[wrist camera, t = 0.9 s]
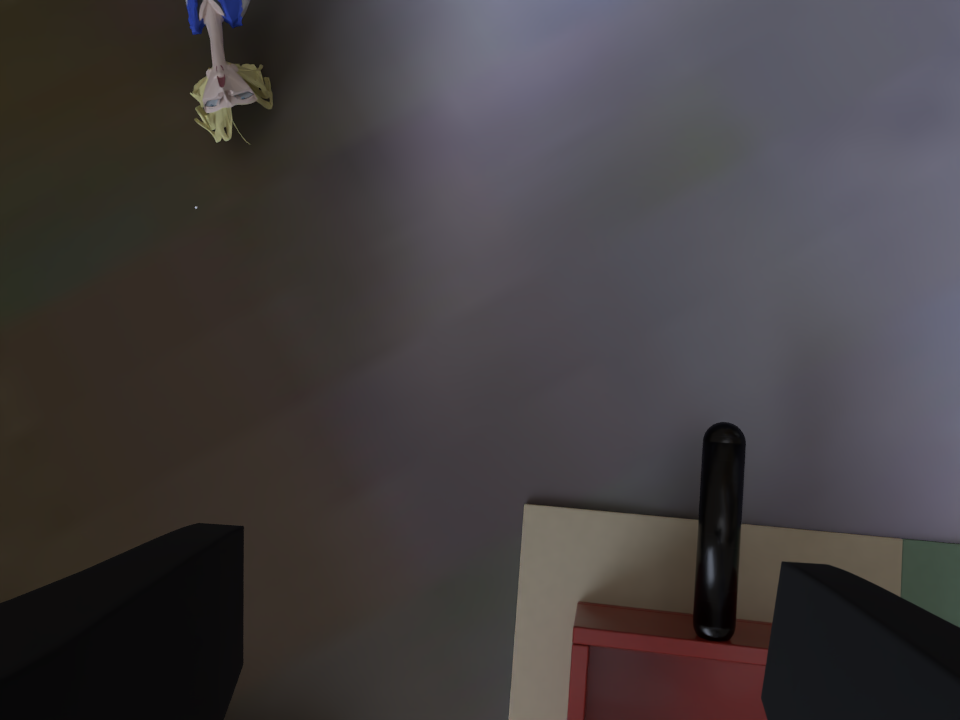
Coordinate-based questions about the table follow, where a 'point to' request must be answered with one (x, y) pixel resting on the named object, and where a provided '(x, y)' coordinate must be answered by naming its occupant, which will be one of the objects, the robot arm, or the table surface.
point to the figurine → (224, 69)
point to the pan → (680, 625)
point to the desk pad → (680, 581)
